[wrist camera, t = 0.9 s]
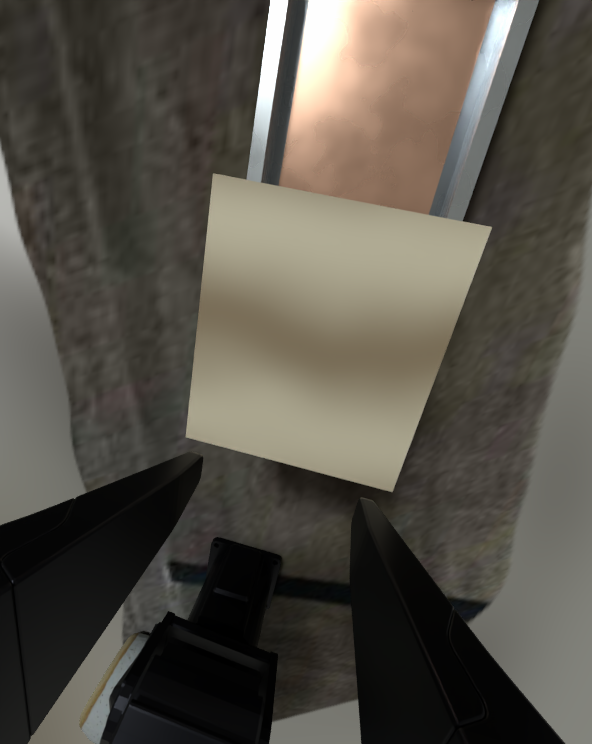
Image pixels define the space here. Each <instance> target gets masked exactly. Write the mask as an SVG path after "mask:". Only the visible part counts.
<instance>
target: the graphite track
mask: <svg viewBox="0 0 592 744" xmlns="http://www.w3.org/2000/svg"><path fill="white" fill-rule="evenodd" d="M538 2H539V0H271V4H270V11H269V18H268V26H267V33H266V41H265V48H264V55H263V63H262V70H261V78H260V85H259V92H258V100H257V107H256V115H255V122H254V129H253V137H252V144H251V152H250V159H249V166H248V174H247V180H250V181H255V182H260V183H265V184H271V185H276V186H281V187H286V188H291V189H296V190H302V191H307V192H312V193H317V194H322V195H328V196H333V197H338V198H343V199H348V200H354V201H359V202H364V203H369V204H374V205H380V206H385V207H390V208H395V209H400V210H405V211H411V212H416V213H421V214H426V215H431V216H437V217H442V218H447V219H452V220H457V221H463V219H464V216H465V213H466V210H467V207H468V204H469V201H470V198H471V196H472V193H473V190H474V187H475V184H476V181H477V178H478V175H479V172H480V170H481V167H482V164H483V161H484V158H485V155H486V152H487V149H488V146H489V144H490V141H491V138H492V135H493V132H494V129H495V126H496V123H497V120H498V118H499V115H500V112H501V109H502V106H503V103H504V100H505V97H506V94H507V92H508V89H509V86H510V83H511V80H512V77H513V74H514V71H515V68H516V66H517V63H518V60H519V57H520V54H521V51H522V48H523V45H524V42H525V40H526V37H527V34H528V31H529V28H530V25H531V22H532V19H533V16H534V13H535V11H536V8H537V5H538Z"/></svg>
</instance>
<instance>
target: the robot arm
mask: <svg viewBox="0 0 592 744" xmlns="http://www.w3.org/2000/svg"><path fill="white" fill-rule="evenodd" d="M202 464H203V455H202V454H199V453H195V452H188V453H186V454H183V455H181V456H178V457H175V458H173V459H170V460H168V461H165V462H163V463H160V464H158V465H155V466H153V467H150V468H148V469H145V470H143V471H140V472H138V473H135V474H133V475H130V476H128V477H125V478H123V479H120V480H118V481H115V482H113V483H110V484H108V485H105V486H103V487H100V488H98V489H95V490H93V491H90V492H88V493H85V494H83V495H80V496H78V497H76V498H75V499H74V498H73V499H70V500H67V501H65V502H62V503H60V504H57V505H55V506H52V507H49V508H47V509H44V510H42V511H39V512H36V513H34V514H31V515H28V516H26V517H23V518H20V519H17V520H14V521H11V522H8V523H5V524H2V525H0V744H28V742H29V741H30V738H31V736H32V735H33V734H34V733H35V731H36V730H37V728H38V727H39V725H40V724H41V723H42V721H43V720H44V718H45V717H46V715H47V714H48V712H49V711H50V709H51V708H52V706H53V705H54V704H55V702H56V701H57V699H58V697H59V696H60V694H61V693H62V692H63V690H64V689H65V687H66V686H67V684H68V683H69V681H70V680H71V679H72V677H73V675H74V674H75V673H76V671H77V670H78V668H79V667H80V665H81V664H82V662H83V661H84V660H85V658H86V657H87V655H88V654H89V652H90V651H91V649H92V648H93V646H94V645H95V643H96V642H97V640H98V639H99V638H100V636H101V635H102V633H103V632H104V630H105V629H106V627H107V626H108V624H109V623H110V621H111V620H112V618H113V617H114V615H115V614H116V613H117V611H118V610H119V608H120V607H121V605H122V604H123V602H124V601H125V599H126V598H127V596H128V595H129V594H130V592H131V591H132V589H133V588H134V586H135V585H136V583H137V582H138V580H139V579H140V577H141V576H142V574H143V573H144V572H145V570H146V569H147V567H148V566H149V564H150V563H151V561H152V560H153V558H154V557H155V555H156V554H157V552H158V551H159V550H160V548H161V547H162V545H163V544H164V542H165V541H166V539H167V538H168V536H169V535H170V533H171V532H172V530H173V529H174V527H175V525H176V524H177V522H178V520H179V518H180V516H181V515H182V513H183V511H184V509H185V507H186V505H187V504H188V502H189V500H190V498H191V496H192V494H193V492H194V491H195V489H196V487H197V485H198V483H199V481H200V478H201V472H202ZM280 565H281V557H280V556H279V555H277V554H274V553H270V552H267V551H263V550H260V549H257V548H253V547H250V546H246V545H243V544H239V543H236V542H233V541H229V540H226V539H222V538H219V537H216V538H214V539H213V541H212V544H211V549H210V556H209V562H208V569H207V575H206V580H205V582H204V585H203V587H202V589H201V591H200V593H199V596H198V598H197V600H196V602H195V604H194V607H193V609H192V611H191V613H190V615H189V618H188V620H185V619H183V618H180V617H178V616H175V614H174V613H172V612H169V611H168V613H167V614H166V616H165V617H164V619H163V621H162V622H159V623H158V624H156V625H155V627H154V628H153V630H152V632H151V634H150V636H149V638H148V639H147V641H146V643H145V645H144V646H143V648H142V650H141V651H140V653H139V654H138V656H137V657H136V658H135V660H134V661H133V663H132V664H131V665H130V667H129V668H128V669H127V671H126V672H125V673H124V675H123V676H122V677H121V679H120V680H119V681H118V683H117V684H116V686H115V687H114V689H113V691H112V693H111V695H110V697H109V708H110V713H109V715H108V718H107V721H106V726H105V728H104V731H103V734H102V736H101V739H100V743H99V744H269V740H270V733H271V725H272V715H273V704H274V693H275V682H276V671H277V660H278V654H277V653H274V652H270V653H269V652H267V651H264V650H262V649H259V648H257V645H258V641H259V636H260V632H261V627H262V623H263V618H264V614H265V610H266V609H269V607H270V604H271V600H272V596H273V592H274V588H275V584H276V581H277V577H278V573H279V569H280ZM350 592H351V606H352V619H353V633H354V647H355V661H356V675H357V688H358V702H359V716H360V730H361V743H362V744H565V743H564V742H563V740H562V739H561V738H560V737H559V736H558V735H557V734H556V732H555V731H554V730H553V729H552V728H551V726H550V725H549V724H548V723H547V721H546V720H545V719H544V718H543V717H542V716H541V714H539V712H538V711H537V710H536V709H535V707H534V706H533V705H532V704H531V703H530V702H529V700H528V699H527V698H526V697H525V696H524V694H523V693H522V692H521V691H520V690H519V689H518V687H517V686H516V685H515V684H514V683H513V681H512V680H511V679H510V678H509V677H508V675H507V674H506V673H505V672H504V671H503V669H502V668H501V667H500V666H499V664H498V663H497V662H496V661H495V660H494V658H493V657H492V656H491V655H490V654H489V652H488V651H487V650H486V648H485V647H484V646H483V645H482V643H481V642H480V641H479V639H478V638H477V637H476V636H475V634H474V633H473V632H472V630H470V628H469V627H468V625H467V624H466V623H465V621H464V620H463V619H462V617H461V616H460V615H459V613H458V612H457V611H456V610H454V607H453V606H452V604H451V603H450V602H449V600H448V599H447V598H446V596H445V595H444V594H443V592H442V591H441V590H440V588H439V587H438V586H437V584H436V583H435V582H434V580H433V579H432V578H431V576H430V575H429V574H428V572H427V571H426V570H425V569H424V567H423V566H422V565H421V563H420V562H419V561H418V559H417V558H416V557H415V555H414V554H413V553H412V551H411V550H410V549H409V547H408V546H407V545H406V543H405V542H404V541H403V539H402V538H401V537H400V535H399V534H398V533H397V531H396V530H395V529H394V527H393V526H392V525H391V523H390V522H389V521H388V519H387V518H386V517H385V515H384V514H383V513H382V511H381V510H380V509H379V508H378V506H377V505H376V504H375V502H374V501H372V500H369V499H366V498H360V499H359V500H358V503H357V506H356V509H355V512H354V515H353V518H352V524H351V549H350Z"/></svg>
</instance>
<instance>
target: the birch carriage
mask: <svg viewBox="0 0 592 744" xmlns="http://www.w3.org/2000/svg"><path fill="white" fill-rule="evenodd" d="M491 229H492V227H489V226H483V225H478V224H473V223H468V222H463V221H457V220H452V219H447V218H442V217H437V216H431V215H426V214H421V213H416V212H411V211H405V210H400V209H395V208H390V207H385V206H380V205H374V204H369V203H364V202H359V201H354V200H348V199H343V198H338V197H333V196H328V195H322V194H317V193H312V192H307V191H302V190H296V189H291V188H286V187H281V186H276V185H271V184H265V183H260V182H255V181H250V180H245V179H239V178H234V177H229V176H224V175H219V174H213V180H212V190H211V200H210V209H209V219H208V228H207V238H206V248H205V257H204V267H203V276H202V286H201V296H200V305H199V315H198V325H197V334H196V344H195V353H194V363H193V373H192V382H191V392H190V401H189V411H188V421H187V430H186V437H187V438H191V439H195V440H199V441H202V442H206V443H210V444H214V445H217V446H221V447H225V448H229V449H232V450H236V451H240V452H244V453H247V454H251V455H255V456H259V457H262V458H266V459H270V460H274V461H277V462H281V463H285V464H289V465H292V466H296V467H300V468H304V469H307V470H311V471H315V472H319V473H322V474H326V475H330V476H334V477H337V478H341V479H345V480H349V481H352V482H356V483H360V484H364V485H367V486H371V487H375V488H379V489H382V490H386V491H390V492H393V489H394V487H395V484H396V481H397V479H398V476H399V473H400V471H401V468H402V465H403V463H404V460H405V457H406V455H407V452H408V449H409V447H410V444H411V441H412V439H413V436H414V433H415V431H416V428H417V425H418V423H419V420H420V417H421V415H422V412H423V410H424V407H425V404H426V402H427V399H428V396H429V394H430V391H431V388H432V386H433V383H434V380H435V378H436V375H437V372H438V370H439V367H440V364H441V362H442V359H443V356H444V354H445V351H446V348H447V346H448V343H449V340H450V338H451V335H452V332H453V330H454V327H455V324H456V322H457V319H458V316H459V314H460V311H461V308H462V306H463V303H464V300H465V298H466V295H467V293H468V290H469V287H470V285H471V282H472V279H473V277H474V274H475V271H476V269H477V266H478V263H479V261H480V258H481V255H482V253H483V250H484V247H485V245H486V242H487V239H488V237H489V234H490V231H491Z"/></svg>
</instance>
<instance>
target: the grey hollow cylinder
mask: <svg viewBox="0 0 592 744" xmlns="http://www.w3.org/2000/svg"><path fill="white" fill-rule="evenodd" d="M148 638H149V635H145V634H142V633H135V634H133V635H131V636H130V637H129V638H128V639H127V641H126V642H125V643H124V645H123V646H122V648H121V649H120V651H119V652H118V654H117V655H116V657H115V658H114V660H113V661H112V663H111V665H110V666H109V668H108V669H107V671H106V673H105V674H104V676H103V678H102V679H101V681H100V682H99V684H98V686H97V688H96V689H95V691H94V692H93V694H92V696H91V697H90V699H89V701H88V703H87V704H86V706H85V708H84V710H83V711H82V713H81V716H80V728H81V730H82V731H83V732H84V733H85V735H86V736H87V737H88V739H89V740H90V741H92V742H93V743H95V744H99V743H100V739H101V736H102V734H103V731H104V728H105V726H106V721H107V718H108V715H109V713H110V708H109V697H110V695H111V693H112V691H113V689H114V687H115V686H116V684H117V683H118V681H119V680H120V679H121V677H122V676H123V675H124V673H125V672H126V671H127V669H128V668H129V667H130V665H131V664H132V663H133V661H134V660H135V658H136V657H137V656H138V654H139V653H140V651H141V650H142V648H143V646H144V645H145V643H146V641H147V639H148Z"/></svg>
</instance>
